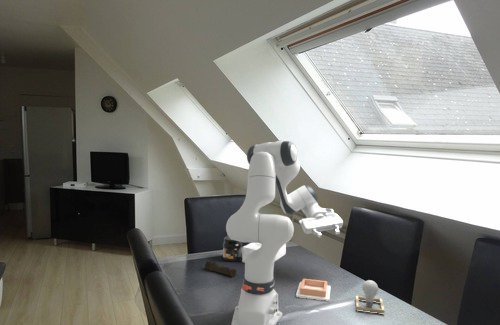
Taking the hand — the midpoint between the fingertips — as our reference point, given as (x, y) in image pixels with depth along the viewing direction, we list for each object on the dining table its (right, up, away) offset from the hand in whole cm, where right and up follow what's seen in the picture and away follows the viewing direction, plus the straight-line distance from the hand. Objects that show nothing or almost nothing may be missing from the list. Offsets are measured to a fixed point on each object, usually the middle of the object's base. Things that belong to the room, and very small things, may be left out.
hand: (329, 234), depth 165 cm
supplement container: (-47, -20, +32) cm, 61 cm away
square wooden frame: (+11, -25, -22) cm, 35 cm away
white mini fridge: (-29, -21, +34) cm, 49 cm away
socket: (-9, -24, -9) cm, 27 cm away
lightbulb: (+11, -25, -22) cm, 35 cm away
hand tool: (-53, -22, +12) cm, 59 cm away
